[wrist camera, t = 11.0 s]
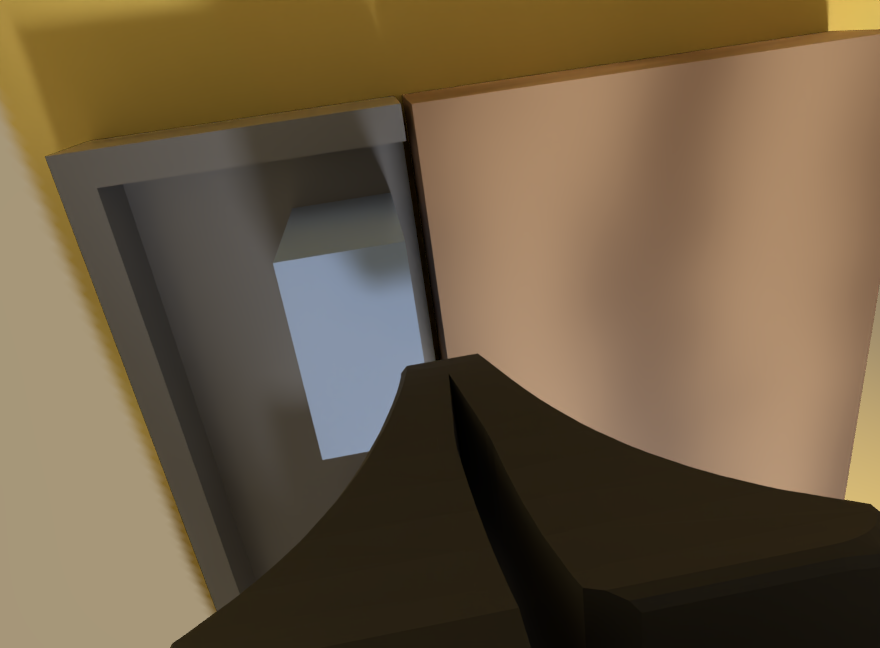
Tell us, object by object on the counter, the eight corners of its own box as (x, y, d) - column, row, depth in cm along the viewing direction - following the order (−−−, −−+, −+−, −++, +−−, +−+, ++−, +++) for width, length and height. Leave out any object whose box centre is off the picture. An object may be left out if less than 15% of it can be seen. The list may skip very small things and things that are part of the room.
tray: (393, 95, 16) (400, 103, 14) (476, 645, 24) (489, 706, 22) (89, 140, 16) (45, 156, 13) (278, 685, 24) (270, 752, 22)
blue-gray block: (405, 241, 12) (273, 262, 12) (436, 438, 14) (322, 460, 14) (390, 192, 16) (292, 207, 16) (416, 350, 18) (328, 365, 18)
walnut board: (829, 31, 17) (921, 27, 14) (768, 585, 25) (819, 651, 22) (401, 94, 16) (412, 104, 13) (482, 644, 24) (498, 719, 22)
